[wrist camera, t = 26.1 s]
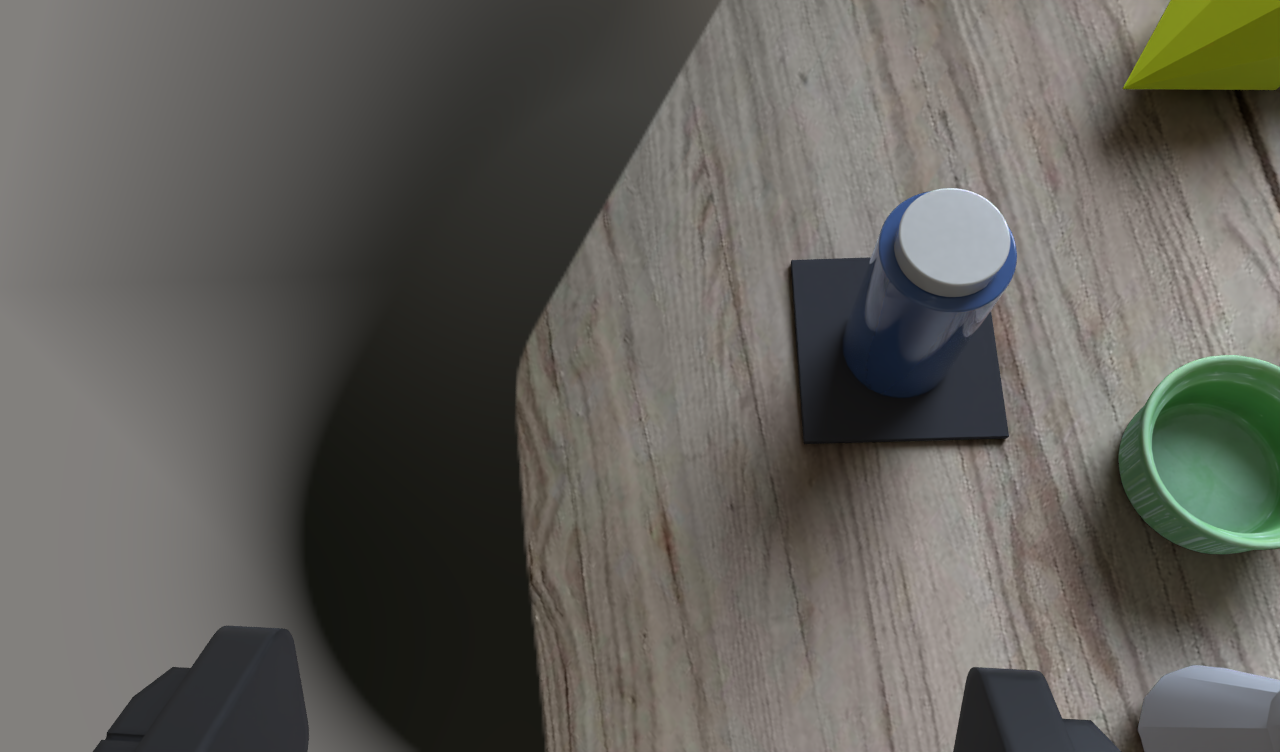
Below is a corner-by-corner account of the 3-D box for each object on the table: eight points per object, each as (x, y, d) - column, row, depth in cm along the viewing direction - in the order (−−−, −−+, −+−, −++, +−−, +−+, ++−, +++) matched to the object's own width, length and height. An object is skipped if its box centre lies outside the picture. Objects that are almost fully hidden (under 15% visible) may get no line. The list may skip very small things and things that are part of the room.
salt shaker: (1172, 642, 47) (1342, 604, 35) (1281, 737, 45) (1498, 732, 33) (1092, 736, 46) (1239, 731, 34) (1201, 837, 44) (1397, 870, 32)
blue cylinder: (847, 399, 51) (891, 301, 40) (837, 298, 53) (877, 176, 42) (959, 396, 51) (1036, 297, 40) (946, 294, 53) (1015, 171, 42)
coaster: (803, 444, 51) (804, 441, 51) (790, 263, 54) (791, 259, 54) (1006, 438, 51) (1009, 436, 50) (980, 257, 54) (982, 253, 54)
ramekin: (1338, 496, 49) (1398, 473, 45) (1198, 604, 47) (1246, 590, 43) (1202, 353, 52) (1247, 318, 48) (1066, 450, 50) (1099, 423, 46)
